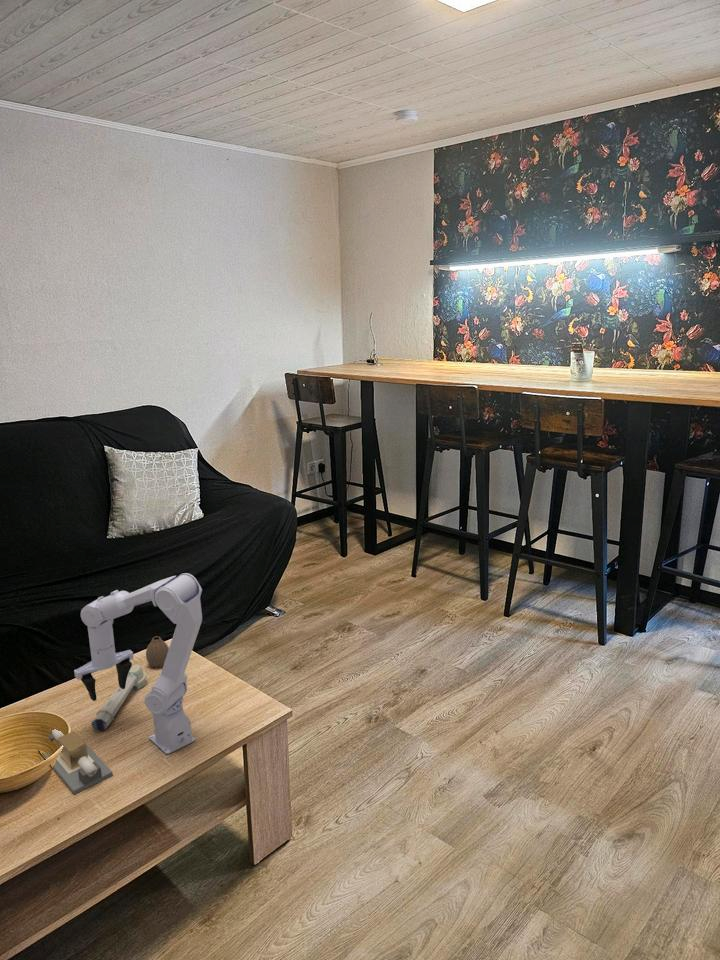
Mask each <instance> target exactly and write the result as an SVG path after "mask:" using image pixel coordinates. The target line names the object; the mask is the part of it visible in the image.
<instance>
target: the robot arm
mask: <svg viewBox="0 0 720 960" xmlns="http://www.w3.org/2000/svg"><path fill="white" fill-rule="evenodd" d="M202 592H203V588H202V587H201V585H200V583H199V581H198V580H197V578H196V577H195V576H194V575H193V574H191V573H187V572H185V573H181V574H179V575H178V576H177V575H172V576H170V577H166V578H163V579H160V580H158V581H156V582H153V583H150V584H148V585H146V586H143V587H142V588H139V589H137V590H134V591H131V592H129V591H126V590H120V591H119V590H118V589H116V590H114V591H111V592H110V594H109V595H107V596H104V595H102V596H98V597H97V599H95V600H93V601H92V602H90V603H88V604H87V605H85V606H84V607H83V608H82V609H81V611H80V618H81V622H83V624H84V625H85V626H87V632H88V633H87V634H88V639H89V640H88V641H89V648H90V650H89V651H90V656H91V661H89V662H87V663H86V664H84V665H82V666H80V667H78V668H77V669H74V670H73V673H74V677H75V679H76V680H78V681H79V680H81V682H82V684H83V685H84V686H85V688H86V690H87V692H88V695H89V698H90V700H92V701H93V702H96V701H97V693H96V678H94V675H92V674H93V673H94V674H95V673H96V672H99V671H104V670H107V669H111V668H112V667H114V666H115V667H116V673H117V681H118V687H121V688H122V689H125V686H126V680H127V676H128V673H129V671H130V669H131V667H132V666H133V663H132V662H131V660H134V652H133V651H132V650H131V649H127V650H124V651H120V652H119V651H118V652H116V647H115V645H116V644H115V638H114V628H113V624H114V619H117V618H120V617H122V616H125V615H128V614H129V613H131V612H132V611H134V608H135V606H138V605H142V604H146V603H149V602H152V604H153V606H154V607H158V608H159V609H160V610H161V612H162V613H164V615H165V616H166V617H167V618H168V619H169V620H170V621H171V622H172V623H173V624H174V625H175V624H176V626H175V628H174V631H173V632H174V633H173V635H172V637H171V642H170V645H169V646H168V647H169V650H168V653H167V657H166V660H165V663H164V666H162V669H161V672H160V675H159V676H158V678H157V679H156V681H155V682H154V683H153V685H152V687H151V690H150V691H149V692H148V693H146V695H145V697H144V704H145V706H146V708H147V710H148V711H149V712H150V713H151V714H152V717H153V728H154V733H153V734H151V735H149V736H148V739H149V740H150V741H152V742H153V744H155V746H157V747H158V748H159V749H160V750H161V751H162V752H164V754H165V755H169V754H172V753H173V752H175V751H177V750H179V749H181V748H183V747H185V746H188V745H189V744H192V743H194V742H196V738H195V737H194V736H193V735H192V726H191V725H192V724H191V719H190V717H189V716H188V715H187V714H186V713H185V710H184V707H183V701H184V696H185V695H186V693H187V692H188V683H187V681H188V680H187V679H188V677H189V676H188V675H187V674H186V669H187V666H188V664H189V661H190V657H191V655H192V651H193V649H194V647H195V646H194V645H195V642H196V640H197V636H198V635H199V631H200V627H201V624H202V622H203V613H202V603H201V595H202Z"/></svg>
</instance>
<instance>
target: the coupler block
mask: <svg viewBox="0 0 720 960" xmlns="http://www.w3.org/2000/svg"><path fill="white" fill-rule="evenodd" d="M57 739H58V746H59V747H60V746H62V745H63V746H64V747H63V749H62V751H61V753H60V757H61V758H62V759H63V760H64V762H65V763H66V764H67V765H68V766H69V767H70V769H71V770H73V769H75V768H77V767H79V766H78V761H79V759H80V758H82V757H84V756H85V757H87V758H88V753H87V746H86V744H87V743H86V742H85V741H84V740H83V738H82V737H81V736H80V735H79V734H78V733H77V732H76V731H75V730H73V731H71V732H68V734H66V735H64V736H61V737H59V738H57Z"/></svg>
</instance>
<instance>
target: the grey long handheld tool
mask: <svg viewBox="0 0 720 960" xmlns="http://www.w3.org/2000/svg"><path fill="white" fill-rule="evenodd" d="M146 684H147V672H146V671H145V670H143V667H142V666H141V665H140V664H139V663H138V664H137V663H136V664H132V667H131V669H130V671H129V673H128V676H127V680H126V686H125V689H122V688H121V687H119V686H118V687H117V688H116V690H115V691H114V692H113V694H112V695H111V696H110V698H108V700H107V702H106V703H105V704H104V705H103V707H102V708H101V709H99V710H98V711H97V712H96V716H95V718H94V719H93V720H92V722H91V723H90V724H91V727H92V729H93V730H94V731H96V730H99V731H98V732H105V731H106V729H107V728H108V727H109V725H110V724H111V723H112V722H113V721H114V720H115V718H114V717H115V716H116V714H117V712H118V711H119V709H120V708H121V707H122V704H123V703H124V701H125V700H126V698H127V697H128V695H129V694H130V692H131V691H138V690H140V689H142V688H143V687H145V686H146Z"/></svg>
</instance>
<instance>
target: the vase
mask: <svg viewBox="0 0 720 960" xmlns="http://www.w3.org/2000/svg"><path fill="white" fill-rule="evenodd" d="M169 647H170V646H169V645H168V644H167V643H166V642H165V641H164V640H163V639H162V638H161V637H160V636H154V637H152V639H151V641H150V643H149V644H148V645H147V647H146V650H145V658H146V661H147V663H148V664H149V665H150V666H151V667H153V668H157V669H158V668H163V666H164V663H165V660H166V657H167V653H168V650H169Z"/></svg>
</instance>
